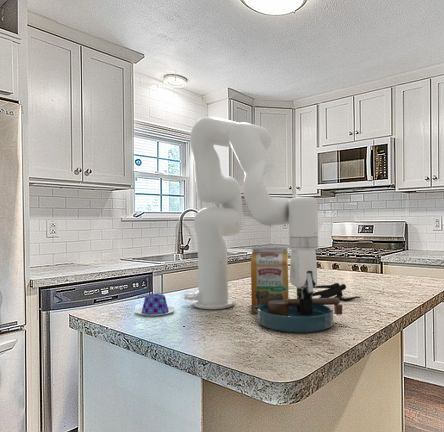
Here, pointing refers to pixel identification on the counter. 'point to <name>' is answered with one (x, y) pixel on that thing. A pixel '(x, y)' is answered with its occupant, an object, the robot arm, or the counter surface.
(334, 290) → the dark humanoid figurine
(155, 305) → the pudding
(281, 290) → the milk carton
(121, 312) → the counter surface
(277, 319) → the bowl
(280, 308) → the ladle
